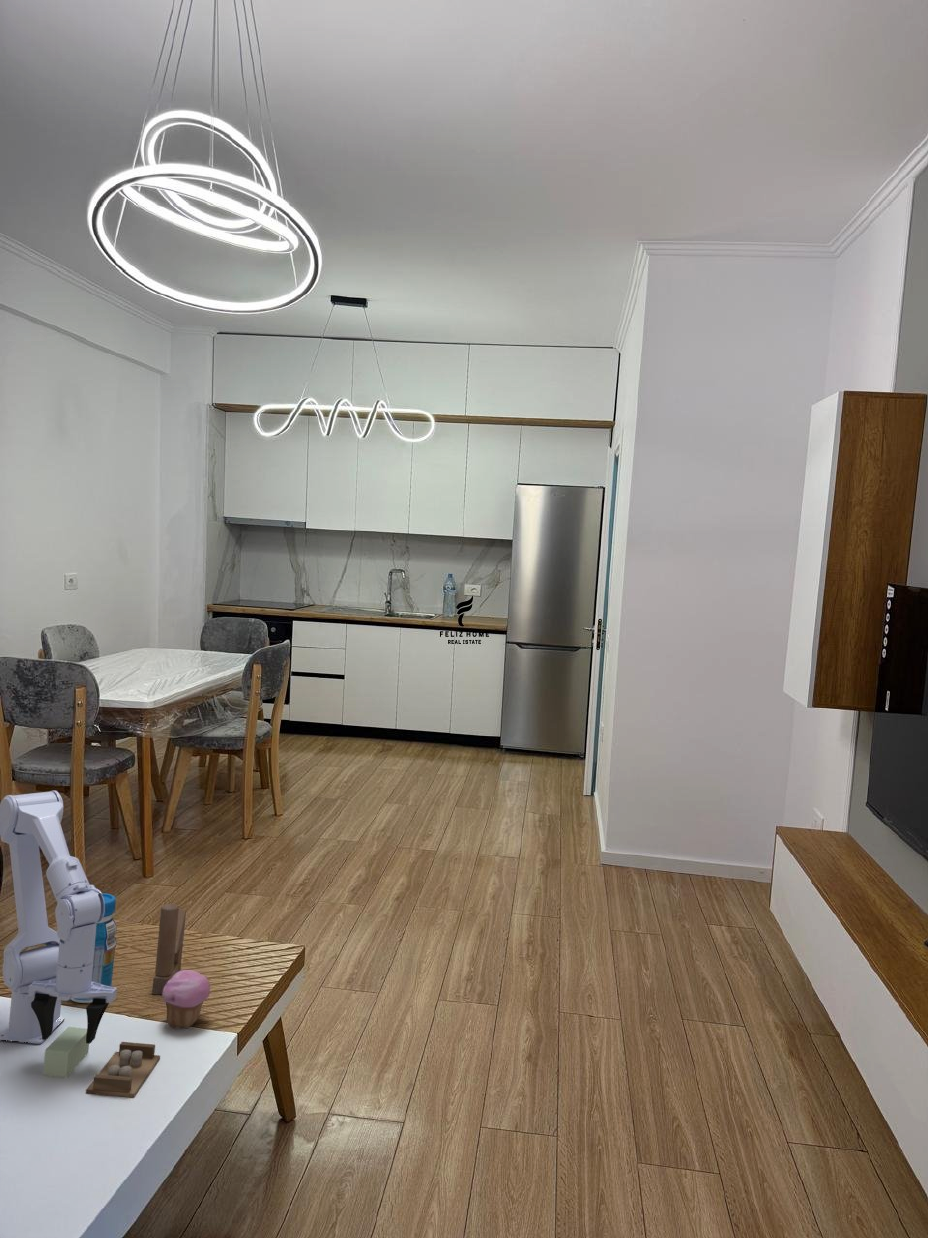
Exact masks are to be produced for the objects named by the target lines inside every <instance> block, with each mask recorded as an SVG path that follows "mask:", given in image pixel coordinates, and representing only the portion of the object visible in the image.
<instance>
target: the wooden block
mask: <svg viewBox="0 0 928 1238" xmlns="http://www.w3.org/2000/svg"><path fill="white" fill-rule="evenodd" d="M186 914H187V910H186V909H180V906H179V904H176V903H166V904H163V905H161V907H160V915H159V917H160V918H159V927H158V929H159V930H158V935H157V937H158V939H157V947H156V949H157V950H156V960H155V971H154V974H155V975H154V976H153V981H152V989H151V990H152V991H151V994H152V995H162V993H163V989H164V987H165V985H166V984H167V982H168V981H169V980H170V979H171V978H172V977H173V976H174V975H175V974H176V973H177V972H179V971H182V970H181V969H182V958H183V947H184V946H183V945H184V943H183V942H184V939H185V938H184V937H185V928H186V927H185V926H186Z"/></svg>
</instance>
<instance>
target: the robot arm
mask: <svg viewBox="0 0 928 1238" xmlns="http://www.w3.org/2000/svg"><path fill="white" fill-rule="evenodd" d="M63 815H64V801H63V798H62V796H61V794H60V793H59V792H58V790H56V789H55V790H50V791H44V792H43V791H42V792H35V793H24V794H16V795H15V794H13V795H12V794H6V795H5V796H4V797H3V799H2V800H1V802H0V841H1V842H3V843H5V844H8V846H9V847H8V848H9V853H10V854H9V857H10V864H11V872H12V881H13V891H14V892H13V893H14V901H15V911H16V920H17V928H18V933H17V934H16V936H15V937H14V938H13V939H12V940H10V942H9V943H8V944H6V947H5V948H4V949H3V964H2V978H3V982H4V984H5V986H6V987H7V988H8V989H9V990H11V996H10V997H11V998H10V1007H9V1008H10V1010H9V1022H8V1028H6V1029H5V1030H4V1031H3V1032H2V1033H1V1034H0V1041H1V1040H6V1041H5V1042H8V1041H7V1040H10V1041H9V1042H12V1041H19V1042H18V1043H24V1042H25V1043H24V1044H26V1042H28V1043H27V1044H37V1045H39V1044H40V1045H41V1044H42V1043H43V1042H44V1041H47V1039H48V1038H50V1037H51V1036H52V1035H53V1032H54V1031H55V1030H56V1029H57V1028H58V1027H59V1026H58V1024H59V1023H60V1022H61V1021H58V1020H59V1019H58V1018H59V1017H60V1016H61V1009H62V1001H63V1002H64V1001H65V1002H67V1001H70V1000H71V999H74V998H77V999H89V1000H93V1002H92V1003H88V1005H87V1006H86V1007H85V1008H86V1009H85V1011H86V1020H87V1021H86V1022H87V1028H86V1029H87V1034H86V1043H89V1045H90V1044H91V1043H92V1042H93V1041H95V1039H96V1036H97V1032H98V1028H99V1025H100V1023H101V1021H102V1018H103V1016H104V1015H105V1012H106V1010H107V1008H108V1007H109V1005H110V1004H112V1003H113V1002H114V1001H115V1000H116V998H117V990H118V988H117V987H114V986H112V987H109V986H105V985H102V984H98V983H95V982H92V970H93V959H94V947H95V936H96V925H97V924H96V923H97V922H100V921H101V920H102V919H103V916H104V913H105V903H104V898H103V896H102V893H103V892H102V891H101V890H100V889H98V888H96V886H95V884H90V882H89V879H88V878H87V875H86V873H85V870H84V868H83V866H82V864H81V861H80V860H79V857H75V856H71V855H70V852H69V848H68V845H67V841H66V838H65V835H64V832H63V828H62V825H61V823H62V819H63V817H64V816H63ZM40 851H42V853H43V855H44V857H45V859H46V861H47V862H48V864H49V866H48V867H47V870H46V871H45V877H46V879H47V881H48V883H49V886H50V888H51V891H52V892H53V897H54V898H55V900H56V901H55V902H56V903H57V905H56V907H55V908H54V912H55V913H54V915H55V920H56V927H57V928H56V930H54V929H53V928H51V927H49V923H48V914H47V913H48V912H47V906H46V905H47V903H46V896H45V889H44V888H45V886H44V880H43V879H44V878H43V872H42V871H43V869H42V863H41V862H42V861H41V853H40ZM39 945H44V946H40V947H37V946H39ZM32 947H36V948H32ZM28 948H32V949H28ZM23 949H28V950H24V951H22V950H23ZM57 1019H58V1020H57ZM56 1020H57V1022H56ZM60 1020H61V1019H60ZM57 1026H58V1027H57ZM56 1027H57V1028H56ZM55 1028H56V1029H55ZM54 1029H55V1030H54ZM53 1030H54V1031H53ZM52 1031H53V1032H52ZM11 1040H12V1041H11Z"/></svg>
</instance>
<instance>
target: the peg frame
mask: <svg viewBox="0 0 928 1238" xmlns="http://www.w3.org/2000/svg"><path fill="white" fill-rule="evenodd" d="M155 1050H156V1044H155V1043H154V1044H151V1043H143V1042H129V1041H128V1042H127V1041H121V1042H120V1044H119V1048H118V1051H114V1053H113V1054H112V1056H111V1057H110V1059H109V1060H108V1061H107V1062H106V1063H105V1065H104V1066H103V1067H102V1069H101V1070H100V1071H99V1072H98V1073H96V1074H95V1075H94V1076H93V1080H92V1081H91V1083H90V1084H89V1085H88V1087H87V1088H86V1089H85V1094H91V1095H102V1096H113V1097H127V1098H135V1097H136V1095H137V1094H138V1092H139V1091H140V1089H141V1088H142V1086H143V1085H144V1083H145V1082H146V1080H147V1079H148V1077H149V1076H150V1075H151V1073H152V1071H154V1068H156V1066H157V1064H158V1063H159V1061H160V1059H161V1055H159V1054H158V1055H156V1053H155Z"/></svg>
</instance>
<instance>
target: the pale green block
mask: <svg viewBox="0 0 928 1238" xmlns="http://www.w3.org/2000/svg"><path fill="white" fill-rule="evenodd" d="M86 1034H87V1028H85V1027H75V1026H68V1027H67V1028H66V1029H65V1030H63V1032H62V1033H60V1034H59V1036H58V1037H57V1038H55V1040H54V1041H53V1042H51V1043H50V1044H49V1045H48V1046H47V1047H46V1049H45V1050H44V1061H43V1062H44V1063H43V1068H42V1069H43V1070H42V1076H49V1077H57V1078H68V1076H69V1075H70V1074H71V1073H72V1072H73V1071H74V1070H75V1068H76V1067H77V1066H78V1065H79V1064H80V1063H81V1062H82V1061H83V1059H84V1058H85V1057H86V1056H87V1055H88V1054H89V1050H90V1044H89V1043H86ZM87 1053H88V1054H87ZM86 1054H87V1055H86ZM85 1055H86V1056H85ZM79 1062H80V1063H79Z"/></svg>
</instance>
